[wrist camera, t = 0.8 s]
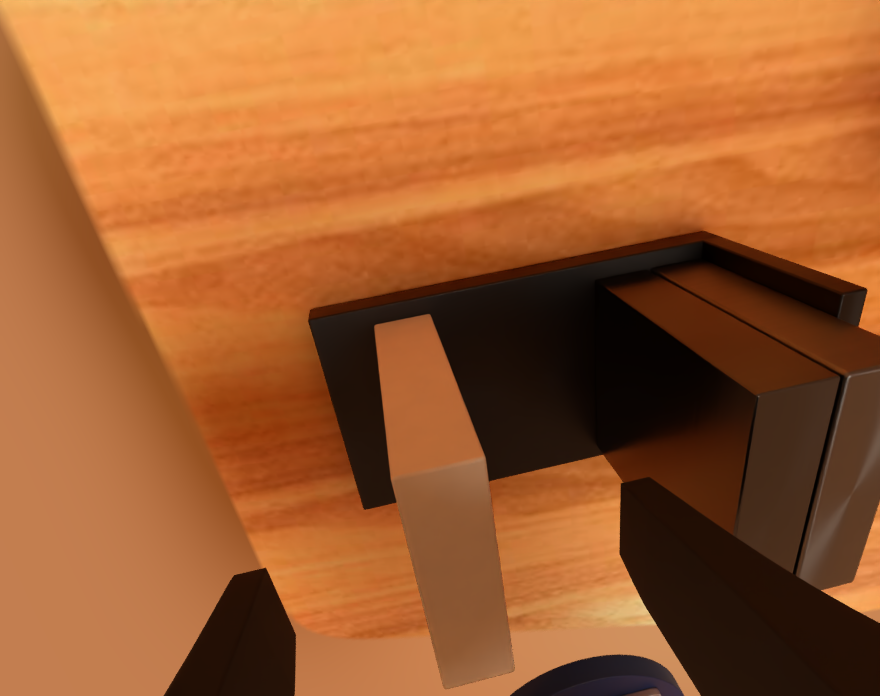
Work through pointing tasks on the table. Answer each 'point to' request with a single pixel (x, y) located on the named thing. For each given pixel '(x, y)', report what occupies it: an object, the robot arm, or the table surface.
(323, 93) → the table surface
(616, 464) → the black bookend
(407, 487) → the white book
